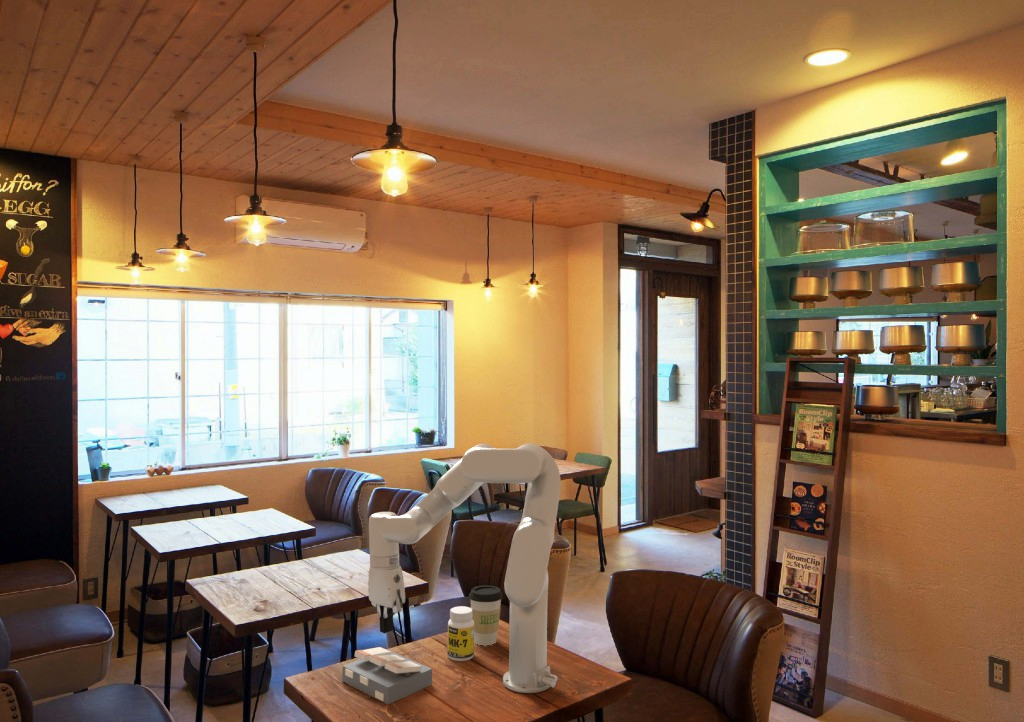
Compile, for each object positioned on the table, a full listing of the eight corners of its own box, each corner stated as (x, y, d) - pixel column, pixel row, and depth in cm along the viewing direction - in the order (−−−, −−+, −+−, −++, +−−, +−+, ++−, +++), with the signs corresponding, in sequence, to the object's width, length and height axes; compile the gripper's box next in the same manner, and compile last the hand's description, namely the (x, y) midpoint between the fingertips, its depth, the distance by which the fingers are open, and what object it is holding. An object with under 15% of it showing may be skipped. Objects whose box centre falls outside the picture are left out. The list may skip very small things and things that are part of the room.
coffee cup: (498, 650, 200) (498, 596, 200) (464, 647, 202) (464, 594, 202) (505, 636, 210) (505, 585, 210) (473, 634, 211) (473, 583, 212)
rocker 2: (404, 664, 180) (405, 658, 180) (380, 666, 174) (381, 660, 174) (393, 659, 183) (394, 654, 183) (369, 661, 177) (370, 655, 177)
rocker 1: (389, 656, 184) (390, 650, 184) (365, 661, 178) (365, 655, 178) (379, 651, 187) (379, 646, 187) (354, 656, 181) (355, 650, 181)
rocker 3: (420, 671, 176) (421, 665, 176) (396, 673, 170) (397, 667, 171) (408, 666, 179) (410, 660, 179) (384, 668, 173) (385, 662, 173)
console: (432, 684, 178) (432, 664, 178) (387, 704, 167) (387, 683, 167) (386, 664, 190) (386, 645, 190) (341, 682, 179) (341, 662, 179)
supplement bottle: (443, 660, 193) (444, 612, 193) (451, 650, 200) (452, 604, 200) (469, 663, 191) (470, 615, 191) (477, 652, 198) (477, 606, 198)
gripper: (414, 561, 183) (416, 633, 183) (378, 553, 193) (380, 621, 193) (391, 568, 178) (393, 642, 177) (355, 559, 187) (357, 629, 187)
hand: (386, 631), depth 185 cm, fingers closed
